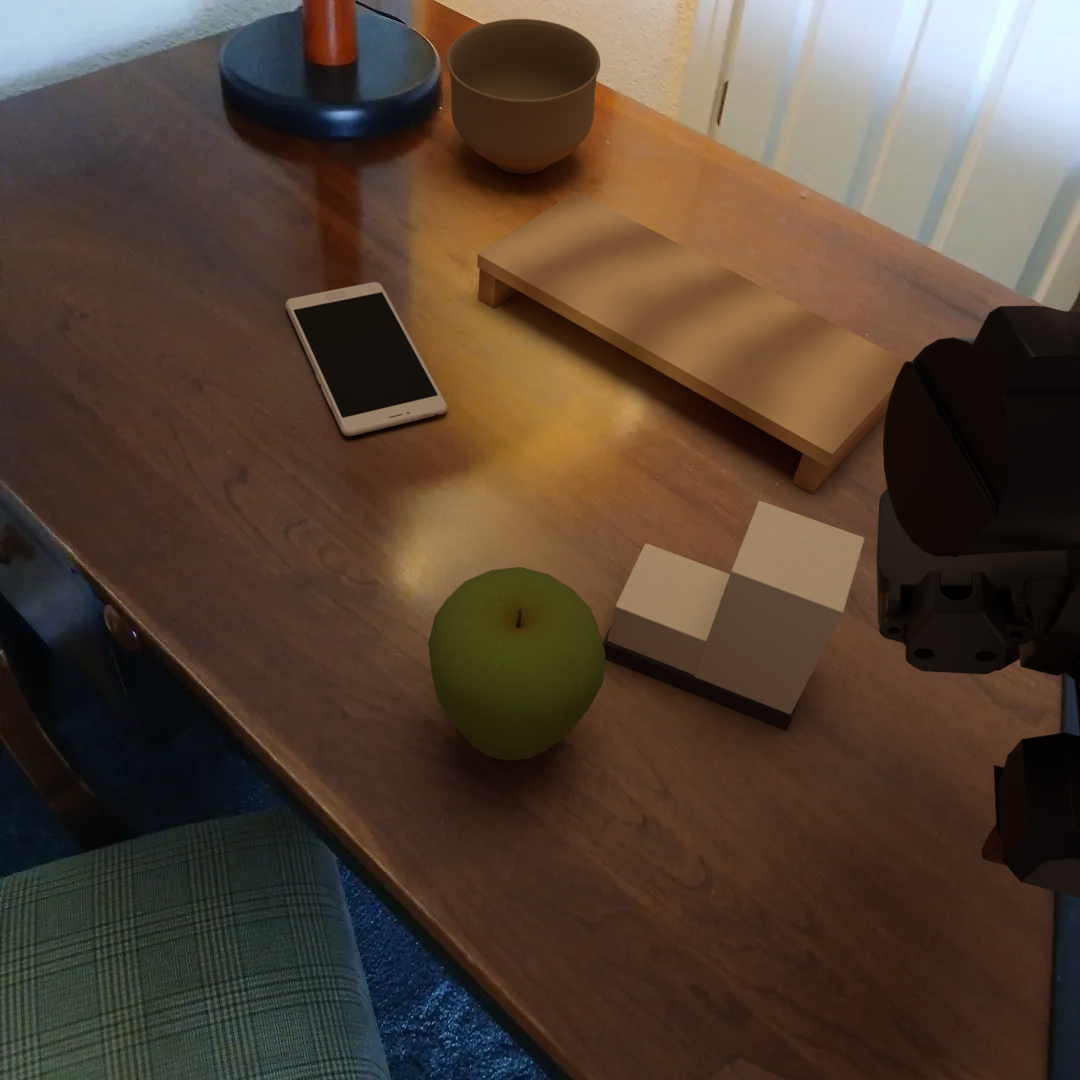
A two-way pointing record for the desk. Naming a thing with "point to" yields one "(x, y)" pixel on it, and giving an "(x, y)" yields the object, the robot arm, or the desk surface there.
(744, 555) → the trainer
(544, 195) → the desk surface
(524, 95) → the bowl
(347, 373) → the smartphone
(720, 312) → the platform
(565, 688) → the apple
